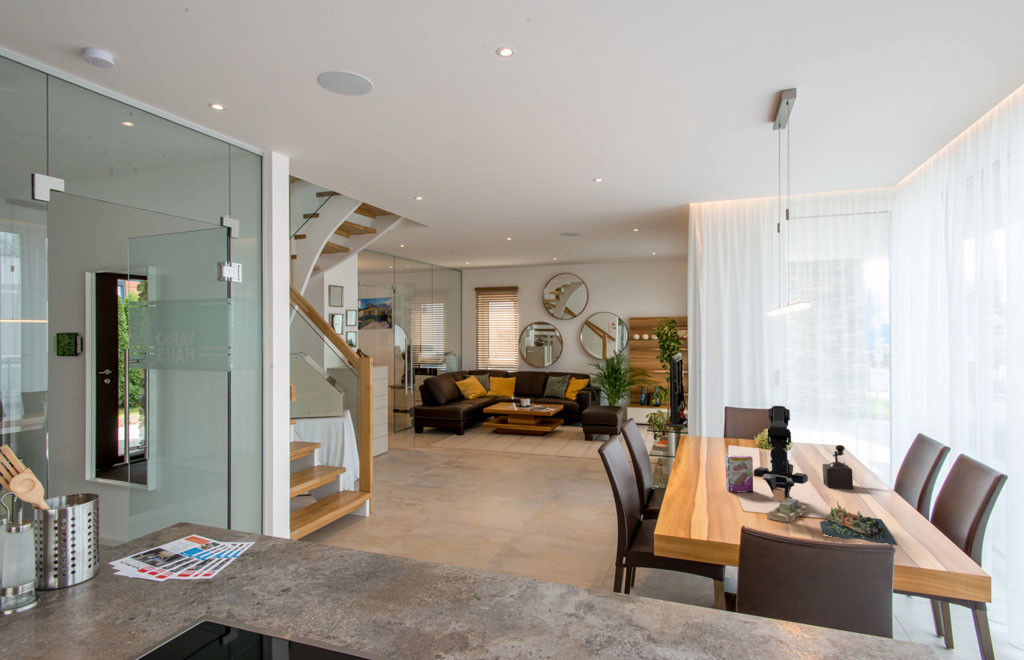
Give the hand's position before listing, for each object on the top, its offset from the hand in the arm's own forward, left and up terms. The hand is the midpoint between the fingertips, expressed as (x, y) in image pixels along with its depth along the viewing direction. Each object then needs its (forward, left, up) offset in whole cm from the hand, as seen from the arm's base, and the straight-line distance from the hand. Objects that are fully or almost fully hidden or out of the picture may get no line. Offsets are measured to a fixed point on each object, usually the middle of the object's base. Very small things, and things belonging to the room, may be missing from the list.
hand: (780, 497), depth 213 cm
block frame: (-5, 0, -8) cm, 10 cm away
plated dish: (-7, +23, -9) cm, 26 cm away
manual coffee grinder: (-68, +1, -9) cm, 68 cm away
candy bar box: (-27, -28, -9) cm, 40 cm away
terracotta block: (0, 0, -1) cm, 1 cm away
